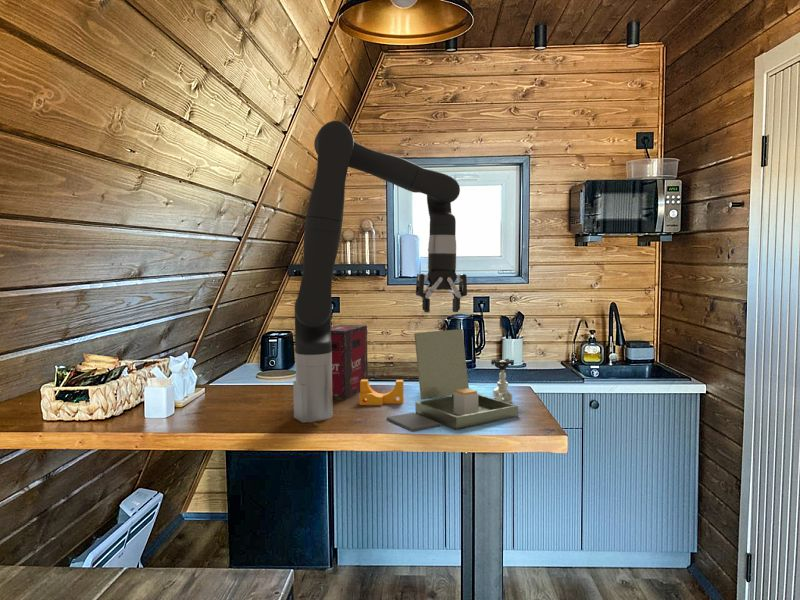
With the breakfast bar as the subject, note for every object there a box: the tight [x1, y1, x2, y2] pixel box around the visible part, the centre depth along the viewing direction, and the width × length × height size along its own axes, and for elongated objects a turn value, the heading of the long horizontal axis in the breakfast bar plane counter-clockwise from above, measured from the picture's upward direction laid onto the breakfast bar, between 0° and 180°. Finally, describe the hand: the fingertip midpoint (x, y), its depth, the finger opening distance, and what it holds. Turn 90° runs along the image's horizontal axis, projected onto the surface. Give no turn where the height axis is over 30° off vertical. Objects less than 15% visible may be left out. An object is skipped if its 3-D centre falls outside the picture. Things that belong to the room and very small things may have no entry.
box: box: [331, 324, 369, 401], centre depth 170 cm, size 16×9×20 cm, turn 160°
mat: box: [386, 412, 441, 432], centre depth 137 cm, size 8×12×1 cm, turn 32°
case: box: [414, 393, 519, 431], centre depth 145 cm, size 20×22×11 cm
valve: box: [490, 358, 515, 404], centre depth 156 cm, size 7×7×12 cm
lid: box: [413, 328, 470, 401], centre depth 152 cm, size 16×18×2 cm
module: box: [454, 388, 479, 415], centre depth 143 cm, size 4×4×6 cm
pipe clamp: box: [358, 378, 405, 406], centre depth 157 cm, size 12×4×6 cm, turn 85°
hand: (441, 312), depth 151 cm, fingers open, 8 cm apart
